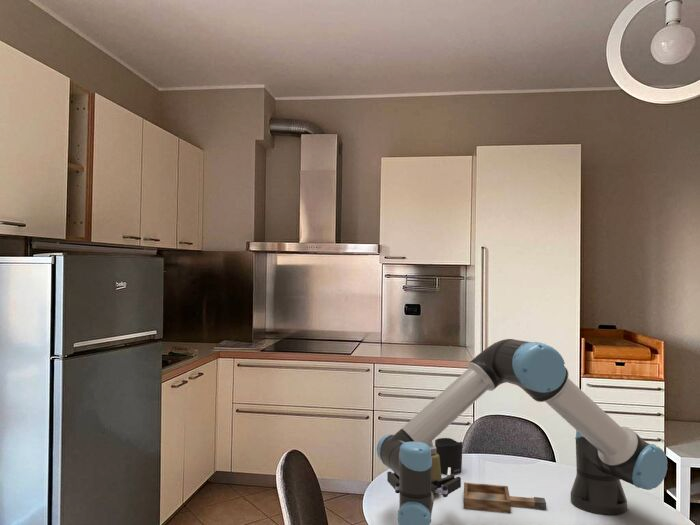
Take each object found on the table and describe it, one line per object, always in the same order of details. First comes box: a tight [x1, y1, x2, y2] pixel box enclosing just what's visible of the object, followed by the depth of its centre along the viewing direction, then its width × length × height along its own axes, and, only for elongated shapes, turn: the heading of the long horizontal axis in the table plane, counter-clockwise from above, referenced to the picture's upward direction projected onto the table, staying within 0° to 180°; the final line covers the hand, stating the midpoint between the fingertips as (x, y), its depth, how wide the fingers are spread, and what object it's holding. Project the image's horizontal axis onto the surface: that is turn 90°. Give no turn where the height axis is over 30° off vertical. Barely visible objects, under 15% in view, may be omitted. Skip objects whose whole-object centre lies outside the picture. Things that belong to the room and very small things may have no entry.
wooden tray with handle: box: [463, 481, 547, 514], centre depth 158 cm, size 23×13×3 cm, turn 77°
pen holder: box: [434, 437, 463, 475], centre depth 187 cm, size 9×9×10 cm
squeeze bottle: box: [428, 440, 443, 498], centre depth 165 cm, size 8×8×18 cm
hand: (425, 470), depth 157 cm, fingers open, 13 cm apart
